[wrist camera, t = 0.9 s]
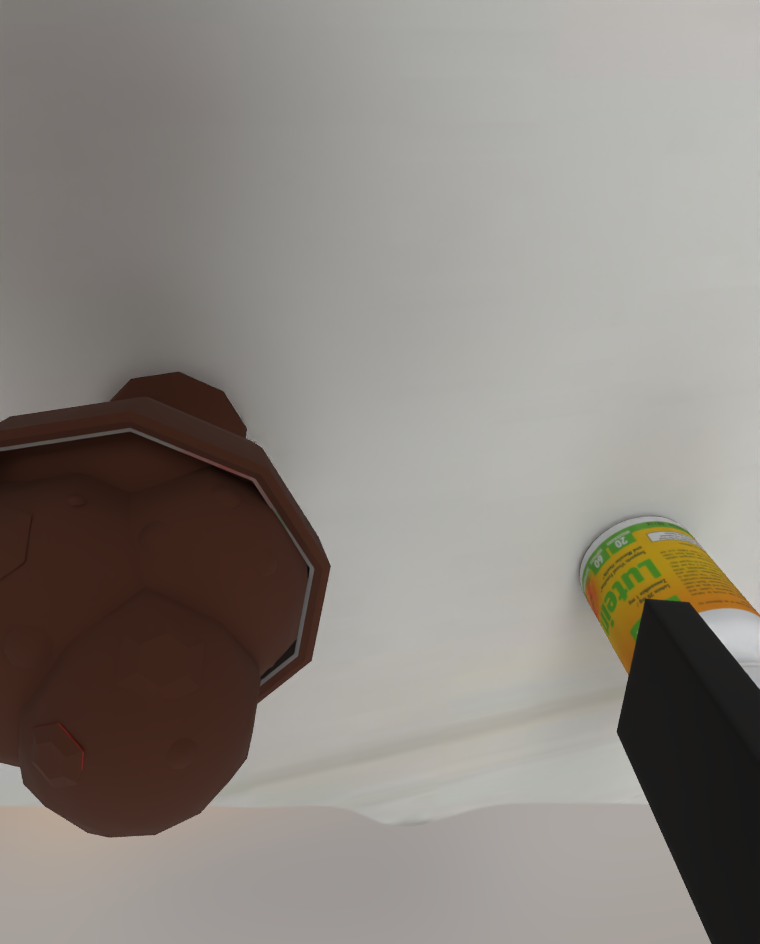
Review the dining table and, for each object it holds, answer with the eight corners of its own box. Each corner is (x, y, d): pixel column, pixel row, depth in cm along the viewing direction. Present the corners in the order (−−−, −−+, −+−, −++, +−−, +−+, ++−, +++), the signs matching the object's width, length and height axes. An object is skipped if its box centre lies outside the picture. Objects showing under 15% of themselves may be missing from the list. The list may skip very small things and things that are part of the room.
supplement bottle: (610, 500, 31) (730, 662, 22) (713, 526, 32) (863, 689, 24) (557, 596, 33) (647, 775, 25) (655, 617, 35) (772, 794, 26)
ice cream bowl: (335, 321, 26) (380, 581, 13) (292, 569, 31) (293, 934, 18) (19, 270, 24) (-310, 518, 11) (30, 545, 29) (-182, 936, 16)
